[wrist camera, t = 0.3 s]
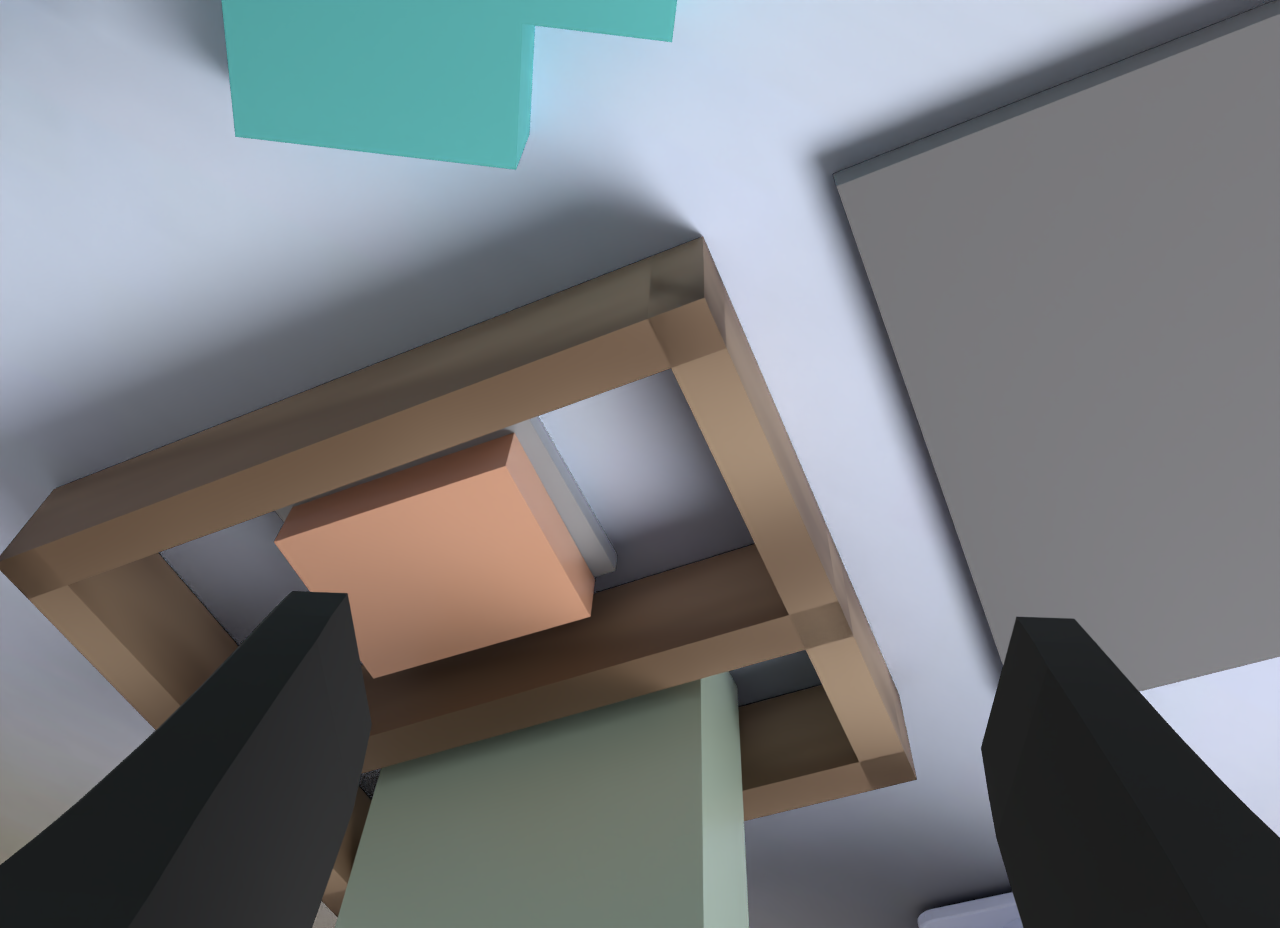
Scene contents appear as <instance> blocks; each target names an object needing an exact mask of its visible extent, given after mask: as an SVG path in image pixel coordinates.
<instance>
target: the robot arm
mask: <svg viewBox="0 0 1280 928" xmlns="http://www.w3.org/2000/svg"><path fill="white" fill-rule="evenodd" d="M371 726H372V723H371V717H370V712H369V706H368V701H367V695H366V690H365V685H364V679H363V674H362V668H361V663H360V657H359V652H358V646H357V641H356V636H355V630H354V625H353V619H352V614H351V608H350V603H349V597H348V593H329V592H301V591H292V592H291V593H290V594H289V595H288V596H287V597H286V598H284V599H283V600H282V601H281V602H280V604H279V605H278V606H277V607H276V608H275V609H274V610H273V611H272V612H271V613H270V614H269V615H268V616H267V617H266V618H265V619H264V620H263V621H262V622H261V623H260V624H259V625H258V626H257V628H256V629H255V630H254V631H253V632H252V633H251V634H250V635H249V636H248V637H247V638H246V639H245V640H244V641H243V642H242V643H241V644H240V645H239V647H238V648H237V649H236V650H235V651H234V652H233V653H232V654H231V655H230V656H229V657H228V658H227V659H226V660H225V661H224V662H223V663H222V664H221V665H220V666H219V667H218V668H217V669H216V670H215V672H214V673H213V674H212V675H211V676H210V677H209V678H208V679H207V680H206V681H205V682H204V683H203V684H202V685H201V686H200V687H199V688H198V689H197V690H196V691H195V692H194V693H193V694H192V695H191V696H190V697H189V698H188V699H187V700H186V701H185V702H184V703H183V704H182V705H181V706H180V707H179V708H178V709H177V710H176V711H175V712H174V713H173V714H172V715H171V716H170V717H169V718H168V719H167V720H166V721H165V722H164V723H163V724H162V725H161V726H160V727H159V728H158V729H157V730H156V731H155V732H153V733H152V734H151V735H150V736H149V737H148V738H147V739H146V740H145V741H144V742H143V743H142V744H141V745H140V746H139V747H138V748H137V749H135V750H134V751H133V752H132V753H131V754H130V755H129V756H128V757H127V758H126V759H124V760H123V761H122V762H121V763H120V764H119V765H118V766H117V767H116V768H115V769H113V770H112V771H111V772H110V773H109V774H108V775H107V776H106V777H105V778H104V779H102V780H101V781H100V782H99V783H98V784H97V785H96V786H95V787H94V788H93V789H91V790H90V791H89V792H88V793H87V794H86V795H85V796H84V797H83V798H81V799H80V800H79V801H78V802H77V803H76V804H75V805H73V806H72V807H71V808H70V809H69V810H67V811H66V812H65V813H64V814H63V815H62V816H60V817H59V818H58V819H57V820H56V821H54V822H53V823H52V824H51V825H50V826H49V827H47V828H46V829H45V830H44V831H42V832H41V833H40V834H39V835H38V836H36V837H35V838H34V839H33V840H31V841H30V842H29V843H28V844H26V845H25V846H24V847H23V848H21V849H20V850H19V851H18V852H16V853H15V854H14V855H12V856H11V857H10V858H9V859H7V860H6V861H5V862H4V863H2V864H1V865H0V928H312V926H313V923H314V920H315V917H316V915H317V912H318V909H319V906H320V903H321V901H322V898H323V895H324V892H325V889H326V887H327V884H328V881H329V878H330V875H331V872H332V870H333V867H334V864H335V861H336V858H337V855H338V852H339V850H340V847H341V844H342V841H343V838H344V835H345V832H346V829H347V826H348V824H349V821H350V818H351V815H352V812H353V808H354V804H355V799H356V795H357V791H358V786H359V782H360V778H361V773H362V769H363V764H364V759H365V755H366V750H367V745H368V740H369V736H370V731H371ZM981 751H982V757H983V763H984V769H985V776H986V782H987V788H988V794H989V800H990V806H991V811H992V816H993V822H994V827H995V833H996V838H997V841H998V845H999V848H1000V852H1001V855H1002V859H1003V862H1004V865H1005V869H1006V872H1007V875H1008V879H1009V882H1010V885H1011V889H1012V892H1010V893H1005V894H1001V895H996V896H991V897H986V898H982V899H977V900H972V901H967V902H963V903H958V904H953V905H948V906H943V907H939V908H934V909H930V910H927V911H925V912H923V913H922V914H921V915H920V916H919V917H918V919H917V920H918V926H919V928H1280V837H1279V836H1277V835H1276V834H1275V833H1274V832H1273V831H1272V830H1271V829H1270V828H1269V827H1268V826H1267V825H1266V824H1265V823H1264V822H1263V821H1262V820H1261V819H1260V818H1259V817H1258V816H1257V815H1255V814H1254V813H1253V812H1252V811H1251V810H1250V809H1249V808H1248V807H1247V806H1246V805H1245V804H1244V803H1243V802H1242V801H1241V800H1240V799H1239V798H1238V797H1237V796H1236V795H1235V794H1234V793H1233V792H1232V791H1231V790H1230V789H1229V788H1228V787H1227V786H1226V785H1225V784H1224V783H1223V782H1222V781H1221V780H1220V778H1219V777H1218V776H1217V775H1216V774H1215V773H1214V772H1213V771H1212V770H1211V769H1210V768H1209V767H1208V766H1207V765H1206V764H1205V763H1204V762H1203V761H1202V760H1201V758H1200V757H1199V756H1198V755H1197V754H1196V753H1195V752H1194V751H1193V750H1192V749H1191V748H1190V747H1189V746H1188V745H1187V744H1186V743H1185V742H1184V741H1183V739H1182V738H1181V737H1180V736H1179V735H1178V734H1177V733H1176V732H1175V731H1174V730H1173V729H1172V727H1171V726H1170V725H1169V724H1168V723H1167V722H1166V721H1165V720H1164V719H1163V718H1162V717H1161V715H1160V714H1159V713H1158V712H1157V711H1156V710H1155V709H1154V708H1153V706H1152V705H1151V704H1150V703H1149V702H1148V701H1147V700H1146V699H1145V698H1144V696H1143V695H1142V694H1141V693H1140V692H1139V691H1138V690H1137V689H1136V687H1135V686H1134V685H1133V684H1132V683H1131V682H1130V681H1129V680H1128V678H1127V677H1126V676H1125V675H1124V674H1123V673H1122V672H1121V671H1120V669H1119V668H1118V667H1117V666H1116V665H1115V664H1114V663H1113V661H1112V660H1111V659H1110V658H1109V657H1108V656H1107V655H1106V654H1105V652H1104V651H1103V650H1102V649H1101V648H1100V647H1099V646H1098V645H1097V643H1096V642H1095V641H1094V640H1093V639H1092V638H1091V637H1090V635H1089V634H1088V633H1087V632H1086V631H1085V630H1084V629H1083V628H1082V627H1081V625H1080V624H1079V623H1078V622H1077V621H1076V620H1075V619H1072V618H1043V617H1016V620H1015V624H1014V628H1013V631H1012V635H1011V639H1010V642H1009V646H1008V650H1007V653H1006V657H1005V661H1004V665H1003V668H1002V672H1001V676H1000V679H999V683H998V687H997V691H996V694H995V698H994V702H993V705H992V709H991V713H990V717H989V720H988V724H987V728H986V731H985V735H984V739H983V742H982V746H981Z"/></svg>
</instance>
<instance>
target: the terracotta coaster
mask: <svg viewBox="0 0 1280 928" xmlns="http://www.w3.org/2000/svg"><path fill="white" fill-rule="evenodd" d="M274 543H275V544H276V546H277V547H278V548H279V550H280V551H281V553H282V554H283V555H284V557H285V558H286V559H287V561H288V562H289V563H290V565H291V566H292V568H293V569H294V570H295V572H296V573H297V574H298V576H299V577H300V579H301V580H302V581H303V583H304V584H305V585H306V587H307V588H308V590H309V591H310V592H329V593H348V597H349V603H350V608H351V614H352V619H353V625H354V630H355V636H356V641H357V646H358V652H359V657H360V661H361V662H362V664H363V665H364V666H365V668H366V669H367V670H368V672H369V673H370V675H371V676H372V677H373V679H374V678H377V677H381V676H384V675H388V674H391V673H395V672H398V671H402V670H405V669H409V668H412V667H416V666H419V665H423V664H426V663H430V662H433V661H437V660H440V659H444V658H447V657H451V656H454V655H458V654H461V653H465V652H468V651H472V650H475V649H479V648H482V647H486V646H489V645H493V644H496V643H500V642H503V641H507V640H510V639H514V638H517V637H521V636H524V635H528V634H532V633H535V632H539V631H542V630H546V629H549V628H553V627H556V626H560V625H563V624H567V623H570V622H574V621H577V620H581V619H584V618H588V617H591V609H592V601H593V593H594V585H595V578H594V577H593V575H592V573H591V571H590V569H589V568H588V566H587V564H586V562H585V560H584V558H583V557H582V555H581V553H580V551H579V549H578V547H577V546H576V544H575V542H574V540H573V538H572V537H571V535H570V533H569V531H568V529H567V527H566V526H565V524H564V522H563V520H562V518H561V516H560V515H559V513H558V511H557V509H556V507H555V506H554V504H553V502H552V500H551V498H550V496H549V495H548V493H547V491H546V489H545V487H544V485H543V484H542V482H541V480H540V478H539V476H538V475H537V473H536V471H535V469H534V467H533V465H532V464H531V462H530V460H529V458H528V456H527V455H526V453H525V451H524V449H523V447H522V445H521V444H520V442H519V440H518V438H517V436H516V434H515V433H511V434H508V435H506V436H503V437H500V438H497V439H494V440H491V441H488V442H485V443H482V444H479V445H476V446H473V447H470V448H467V449H464V450H461V451H458V452H455V453H452V454H449V455H446V456H443V457H440V458H437V459H434V460H431V461H428V462H425V463H422V464H419V465H416V466H413V467H410V468H407V469H404V470H402V471H399V472H396V473H393V474H390V475H387V476H384V477H381V478H378V479H375V480H372V481H369V482H366V483H363V484H360V485H357V486H354V487H351V488H348V489H345V490H342V491H339V492H336V493H333V494H330V495H327V496H324V497H322V498H319V499H316V500H313V501H310V502H307V503H304V504H301V505H298V506H295V507H292V509H291V511H290V513H289V514H288V516H287V518H286V520H285V522H284V524H283V526H282V528H281V530H280V531H279V533H278V535H277V537H276V539H275V541H274Z"/></svg>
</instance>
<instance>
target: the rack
mask: <svg viewBox="0 0 1280 928" xmlns="http://www.w3.org/2000/svg"><path fill="white" fill-rule="evenodd" d="M670 368H671V369H672V371H673V373H674V375H675V377H676V380H677V382H678V384H679V386H680V388H681V390H682V392H683V394H684V396H685V398H686V400H687V403H688V405H689V407H690V409H691V411H692V413H693V415H694V417H695V419H696V421H697V423H698V426H699V428H700V430H701V432H702V434H703V436H704V438H705V440H706V442H707V444H708V447H709V449H710V451H711V453H712V455H713V457H714V459H715V461H716V463H717V465H718V467H719V470H720V472H721V474H722V476H723V478H724V480H725V482H726V484H727V486H728V488H729V490H730V493H731V495H732V497H733V499H734V501H735V503H736V505H737V507H738V509H739V511H740V513H741V516H742V518H743V520H744V522H745V524H746V526H747V528H748V530H749V532H750V534H751V537H752V539H753V541H754V543H755V544H753V545H750V546H747V547H743V548H740V549H737V550H734V551H730V552H727V553H724V554H721V555H717V556H714V557H711V558H708V559H704V560H701V561H698V562H695V563H691V564H688V565H685V566H682V567H679V568H675V569H672V570H669V571H666V572H662V573H659V574H656V575H653V576H649V577H646V578H643V579H640V580H636V581H633V582H630V583H627V584H623V585H620V586H617V587H614V588H611V589H607V590H604V591H601V592H598V593H594V594H593V601H592V609H591V617H588V618H584V619H581V620H577V621H574V622H570V623H567V624H563V625H560V626H556V627H553V628H549V629H546V630H542V631H539V632H535V633H532V634H528V635H524V636H521V637H517V638H514V639H510V640H507V641H503V642H500V643H496V644H493V645H489V646H486V647H482V648H479V649H475V650H472V651H468V652H465V653H461V654H458V655H454V656H451V657H447V658H444V659H440V660H437V661H433V662H430V663H426V664H423V665H419V666H416V667H412V668H409V669H405V670H402V671H398V672H395V673H391V674H388V675H384V676H381V677H377V678H374V679H373V677H372V676H371V675H370V673H369V672H368V670H367V669H366V668H365V666H364V665H361V668H362V674H363V679H364V685H365V690H366V695H367V701H368V706H369V712H370V717H371V723H372V726H371V731H370V736H369V740H368V745H367V750H366V755H365V759H364V764H363V769H362V773H366V772H369V771H373V770H376V769H380V768H384V767H387V766H391V765H394V764H398V763H401V762H405V761H409V760H412V759H416V758H419V757H423V756H427V755H430V754H434V753H437V752H441V751H444V750H448V749H452V748H455V747H459V746H462V745H466V744H469V743H473V742H477V741H480V740H484V739H487V738H491V737H495V736H498V735H502V734H505V733H509V732H512V731H516V730H520V729H523V728H527V727H530V726H534V725H538V724H541V723H545V722H548V721H552V720H555V719H559V718H563V717H566V716H570V715H573V714H577V713H581V712H584V711H588V710H591V709H595V708H598V707H602V706H606V705H609V704H613V703H616V702H620V701H623V700H627V699H631V698H634V697H638V696H641V695H645V694H649V693H652V692H656V691H659V690H663V689H666V688H670V687H674V686H677V685H681V684H684V683H688V682H692V681H695V680H699V679H702V678H706V677H709V676H713V675H717V674H720V673H724V672H727V671H731V670H735V669H738V668H742V667H745V666H749V665H752V664H756V663H760V662H763V661H767V660H770V659H774V658H778V657H781V656H785V655H788V654H792V653H795V652H799V651H803V650H806V652H807V654H808V656H809V658H810V660H811V662H812V664H813V666H814V668H815V671H816V673H817V675H818V677H819V679H820V681H821V683H822V685H819V686H816V687H812V688H808V689H804V690H801V691H797V692H793V693H790V694H786V695H782V696H778V697H775V698H771V699H767V700H764V701H760V702H756V703H752V704H749V705H745V706H741V707H738V710H739V730H740V751H741V771H742V792H743V812H744V821H747V820H751V819H755V818H759V817H763V816H767V815H772V814H776V813H780V812H784V811H788V810H792V809H797V808H801V807H805V806H809V805H813V804H817V803H821V802H826V801H830V800H834V799H838V798H842V797H846V796H850V795H855V794H859V793H863V792H867V791H871V790H875V789H880V788H884V787H888V786H892V785H896V784H900V783H904V782H909V781H913V780H917V778H916V773H915V768H914V764H913V759H912V754H911V749H910V745H909V740H908V735H907V730H906V726H905V721H904V716H903V711H902V706H901V702H900V697H899V694H898V691H897V689H896V687H895V684H894V682H893V680H892V677H891V675H890V673H889V670H888V668H887V666H886V663H885V661H884V659H883V656H882V654H881V652H880V649H879V647H878V645H877V642H876V640H875V638H874V635H873V633H872V631H871V628H870V626H869V624H868V621H867V619H866V617H865V614H864V612H863V609H862V607H861V605H860V602H859V600H858V598H857V595H856V593H855V591H854V588H853V586H852V584H851V581H850V579H849V577H848V574H847V572H846V570H845V567H844V565H843V563H842V560H841V558H840V556H839V553H838V551H837V549H836V546H835V544H834V542H833V539H832V537H831V535H830V532H829V530H828V528H827V525H826V523H825V521H824V518H823V516H822V514H821V511H820V509H819V507H818V504H817V502H816V500H815V497H814V495H813V492H812V490H811V488H810V485H809V483H808V481H807V478H806V476H805V474H804V471H803V469H802V467H801V464H800V462H799V460H798V457H797V455H796V453H795V450H794V448H793V446H792V443H791V441H790V439H789V436H788V434H787V432H786V429H785V427H784V425H783V422H782V420H781V418H780V415H779V413H778V411H777V408H776V406H775V404H774V401H773V399H772V397H771V394H770V392H769V390H768V387H767V385H766V383H765V380H764V378H763V375H762V373H761V371H760V368H759V366H758V364H757V361H756V359H755V357H754V354H753V352H752V350H751V347H750V345H749V343H748V340H747V338H746V336H745V333H744V331H743V329H742V326H741V324H740V322H739V319H738V317H737V315H736V312H735V310H734V308H733V305H732V303H731V301H730V298H729V296H728V294H727V291H726V289H725V287H724V284H723V282H722V280H721V277H720V275H719V273H718V270H717V268H716V265H715V263H714V261H713V258H712V256H711V254H710V251H709V249H708V247H707V244H706V242H705V240H704V237H703V236H702V237H700V238H697V239H695V240H692V241H689V242H687V243H684V244H682V245H679V246H677V247H674V248H671V249H669V250H666V251H664V252H661V253H659V254H656V255H654V256H651V257H648V258H646V259H643V260H641V261H638V262H636V263H633V264H630V265H628V266H625V267H623V268H620V269H618V270H615V271H612V272H610V273H607V274H605V275H602V276H600V277H597V278H594V279H592V280H589V281H587V282H584V283H582V284H579V285H577V286H574V287H571V288H569V289H566V290H564V291H561V292H559V293H556V294H553V295H551V296H548V297H546V298H543V299H541V300H538V301H535V302H533V303H530V304H528V305H525V306H523V307H520V308H517V309H515V310H512V311H510V312H507V313H505V314H502V315H500V316H497V317H494V318H492V319H489V320H487V321H484V322H482V323H479V324H476V325H474V326H471V327H469V328H466V329H464V330H461V331H458V332H456V333H453V334H451V335H448V336H446V337H443V338H440V339H438V340H435V341H433V342H430V343H428V344H425V345H423V346H420V347H417V348H415V349H412V350H410V351H407V352H405V353H402V354H399V355H397V356H394V357H392V358H389V359H387V360H384V361H381V362H379V363H376V364H374V365H371V366H369V367H366V368H364V369H361V370H358V371H356V372H353V373H351V374H348V375H346V376H343V377H340V378H338V379H335V380H333V381H330V382H328V383H325V384H322V385H320V386H317V387H315V388H312V389H310V390H307V391H304V392H302V393H299V394H297V395H294V396H292V397H289V398H287V399H284V400H281V401H279V402H276V403H274V404H271V405H269V406H266V407H263V408H261V409H258V410H256V411H253V412H251V413H248V414H245V415H243V416H240V417H238V418H235V419H233V420H230V421H227V422H225V423H222V424H220V425H217V426H215V427H212V428H210V429H207V430H204V431H202V432H199V433H197V434H194V435H192V436H189V437H186V438H184V439H181V440H179V441H176V442H174V443H171V444H168V445H166V446H163V447H161V448H158V449H156V450H153V451H151V452H148V453H145V454H143V455H140V456H138V457H135V458H133V459H130V460H127V461H125V462H122V463H120V464H117V465H115V466H112V467H109V468H107V469H104V470H102V471H99V472H97V473H94V474H91V475H89V476H86V477H84V478H81V479H79V480H76V481H74V482H71V483H68V484H66V485H63V486H61V487H58V488H56V489H54V490H53V491H52V492H51V494H50V495H49V496H48V497H47V499H46V500H45V501H44V502H43V504H42V505H41V506H40V507H39V508H38V510H37V511H36V512H35V513H34V515H33V516H32V517H31V518H30V520H29V521H28V522H27V523H26V524H25V526H24V527H23V528H22V529H21V531H20V532H19V533H18V534H17V536H16V537H15V538H14V539H13V540H12V542H11V543H10V544H9V545H8V547H7V548H6V549H5V550H4V552H3V553H2V554H1V555H0V570H1V572H2V573H3V574H4V575H5V576H6V577H7V578H8V579H9V580H10V581H11V582H12V583H13V584H14V585H15V586H16V587H17V588H18V589H19V590H20V591H21V592H22V593H23V594H24V595H25V596H26V597H27V598H28V599H29V600H30V601H31V602H32V603H33V604H34V605H35V606H36V608H37V609H38V610H39V611H40V612H41V613H42V614H43V615H44V616H45V617H46V618H47V619H48V620H49V621H50V622H51V623H52V624H53V625H54V626H55V627H56V628H57V629H58V630H59V631H60V632H61V633H62V634H63V635H64V636H65V637H66V638H67V639H68V640H69V641H70V642H71V644H72V645H73V646H74V647H75V648H76V649H77V650H78V651H79V652H80V653H81V654H82V655H83V656H84V657H85V658H86V659H87V660H88V661H89V662H90V663H91V664H92V665H93V666H94V667H95V668H96V669H97V670H98V671H99V672H100V673H101V674H102V675H103V676H104V677H105V678H106V680H107V681H108V682H109V683H110V684H111V685H112V686H113V687H114V688H115V689H116V690H117V691H118V692H119V693H120V694H121V695H122V696H123V697H124V698H125V699H126V700H127V701H128V702H129V703H130V704H131V705H132V706H133V707H134V708H135V709H136V710H137V711H138V712H139V713H140V714H141V716H142V717H143V718H144V719H145V720H146V721H147V722H148V723H149V724H150V725H151V726H152V727H153V728H154V729H155V730H157V729H158V728H159V727H160V726H161V725H162V724H163V723H164V722H165V721H166V720H167V719H168V718H169V717H170V716H171V715H172V714H173V713H174V712H175V711H176V710H177V709H178V708H179V707H180V706H181V705H182V704H183V703H184V702H185V701H186V700H187V699H188V698H189V697H190V696H191V695H192V694H193V693H194V692H195V691H196V690H197V689H198V688H199V687H200V686H201V685H202V684H203V683H204V682H205V681H206V680H207V679H208V678H209V677H210V676H211V675H212V674H213V673H214V672H215V670H216V669H217V668H218V667H219V666H220V665H221V664H222V663H223V662H224V661H225V660H226V659H227V658H228V657H229V656H230V655H231V654H232V653H233V652H234V651H235V650H236V649H237V648H238V647H239V646H238V645H237V644H236V643H235V642H234V640H233V639H232V638H231V637H230V636H229V635H228V633H227V632H226V631H225V630H224V629H223V628H222V626H221V625H220V624H219V623H218V622H217V621H216V619H215V618H214V617H213V616H212V615H211V614H210V612H209V611H208V610H207V609H206V608H205V607H204V606H203V604H202V603H201V602H200V601H199V600H198V599H197V597H196V596H195V595H194V594H193V593H192V592H191V590H190V589H189V588H188V587H187V586H186V585H185V583H184V582H183V581H182V580H181V579H180V578H179V576H178V575H177V574H176V573H175V572H174V571H173V569H172V568H171V567H170V566H169V565H168V564H167V563H166V561H165V560H164V559H163V558H162V557H161V556H160V554H159V553H158V552H161V551H164V550H167V549H169V548H172V547H175V546H178V545H181V544H183V543H186V542H189V541H192V540H195V539H197V538H200V537H203V536H206V535H208V534H211V533H214V532H217V531H220V530H222V529H225V528H228V527H231V526H233V525H236V524H239V523H242V522H245V521H247V520H250V519H253V518H256V517H258V516H261V515H264V514H267V513H270V512H272V511H275V510H278V509H281V508H284V507H286V506H289V505H292V504H295V503H297V502H300V501H303V500H306V499H309V498H311V497H314V496H317V495H320V494H322V493H325V492H328V491H331V490H334V489H336V488H339V487H342V486H345V485H347V484H350V483H353V482H356V481H359V480H361V479H364V478H367V477H370V476H373V475H375V474H378V473H381V472H384V471H386V470H389V469H392V468H395V467H398V466H400V465H403V464H406V463H409V462H411V461H414V460H417V459H420V458H423V457H425V456H428V455H431V454H434V453H436V452H439V451H442V450H445V449H448V448H450V447H453V446H456V445H459V444H461V443H464V442H467V441H470V440H473V439H475V438H478V437H481V436H484V435H487V434H489V433H492V432H495V431H498V430H500V429H503V428H506V427H509V426H512V425H514V424H517V423H520V422H523V421H525V420H528V419H531V418H534V417H537V416H539V415H542V414H545V413H548V412H550V411H553V410H556V409H559V408H562V407H564V406H567V405H570V404H573V403H576V402H578V401H581V400H584V399H587V398H589V397H592V396H595V395H598V394H601V393H603V392H606V391H609V390H612V389H614V388H617V387H620V386H623V385H626V384H628V383H631V382H634V381H637V380H639V379H642V378H645V377H648V376H651V375H653V374H656V373H659V372H662V371H665V370H667V369H670ZM362 773H361V774H362ZM370 805H371V800H370V798H369V797H368V796H367V795H366V794H365V793H364V791H363V790H362V789H361V788H360V787H359V786H358V791H357V795H356V799H355V804H354V808H353V812H352V815H351V818H350V821H349V824H348V826H347V829H346V832H345V835H344V838H343V841H342V844H341V847H340V850H339V852H338V855H337V858H336V861H335V864H334V867H333V870H332V872H331V875H330V878H329V881H328V884H327V887H326V889H325V892H324V895H323V898H322V902H323V903H324V904H325V905H326V906H327V907H328V908H329V909H330V910H331V911H332V912H333V913H334V914H335V915H336V916H337V917H338V915H339V912H340V909H341V905H342V902H343V898H344V895H345V891H346V888H347V884H348V881H349V877H350V874H351V870H352V867H353V864H354V860H355V857H356V853H357V850H358V846H359V843H360V839H361V836H362V832H363V829H364V826H365V822H366V819H367V815H368V812H369V808H370Z"/></svg>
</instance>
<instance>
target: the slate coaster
mask: <svg viewBox="0 0 1280 928" xmlns="http://www.w3.org/2000/svg"><path fill="white" fill-rule="evenodd" d="M511 433H515V434H516V436H517V438H518V440H519V442H520V444H521V445H522V447H523V449H524V451H525V453H526V455H527V456H528V458H529V460H530V462H531V464H532V465H533V467H534V469H535V471H536V473H537V475H538V476H539V478H540V480H541V482H542V484H543V485H544V487H545V489H546V491H547V493H548V495H549V496H550V498H551V500H552V502H553V504H554V506H555V507H556V509H557V511H558V513H559V515H560V516H561V518H562V520H563V522H564V524H565V526H566V527H567V529H568V531H569V533H570V535H571V537H572V538H573V540H574V542H575V544H576V546H577V547H578V549H579V551H580V553H581V555H582V557H583V558H584V560H585V562H586V564H587V566H588V568H589V569H590V571H591V573H592V575H593V577H598V576H601V575H604V574H607V573H610V572H613V571H616V563H617V553H616V551H615V550H614V548H613V546H612V544H611V543H610V541H609V539H608V537H607V536H606V534H605V532H604V530H603V529H602V527H601V525H600V523H599V522H598V520H597V518H596V516H595V515H594V513H593V511H592V509H591V508H590V506H589V504H588V502H587V501H586V499H585V497H584V495H583V494H582V492H581V490H580V488H579V486H578V485H577V483H576V481H575V479H574V478H573V476H572V474H571V472H570V471H569V469H568V467H567V465H566V464H565V462H564V460H563V458H562V457H561V455H560V453H559V451H558V450H557V448H556V446H555V444H554V443H553V441H552V439H551V437H550V436H549V434H548V432H547V430H546V429H545V427H544V425H543V423H542V422H541V420H540V418H539V416H537V417H534V418H531V419H528V420H525V421H523V422H520V423H517V424H514V425H512V426H509V427H506V428H503V429H500V430H498V431H495V432H492V433H489V434H487V435H484V436H481V437H478V438H475V439H473V440H470V441H467V442H464V443H461V444H459V445H456V446H453V447H450V448H448V449H445V450H442V451H439V452H436V453H434V454H431V455H428V456H425V457H423V458H420V459H417V460H414V461H411V462H409V463H406V464H403V465H400V466H398V467H395V468H392V469H389V470H386V471H384V472H381V473H378V474H375V475H373V476H370V477H367V478H364V479H361V480H359V481H356V482H353V483H350V484H347V485H345V486H342V487H339V488H336V489H334V490H331V491H328V492H325V493H322V494H320V495H317V496H314V497H311V498H309V499H306V500H303V501H300V502H297V503H295V504H292V505H289V506H286V507H284V508H281V509H278V510H275V512H276V513H277V514H278V516H279V517H280V518H281V520H282V521H283V522H285V520H286V518H287V516H288V514H289V513H290V511H291V509H292V507H295V506H298V505H301V504H304V503H307V502H310V501H313V500H316V499H319V498H322V497H324V496H327V495H330V494H333V493H336V492H339V491H342V490H345V489H348V488H351V487H354V486H357V485H360V484H363V483H366V482H369V481H372V480H375V479H378V478H381V477H384V476H387V475H390V474H393V473H396V472H399V471H402V470H404V469H407V468H410V467H413V466H416V465H419V464H422V463H425V462H428V461H431V460H434V459H437V458H440V457H443V456H446V455H449V454H452V453H455V452H458V451H461V450H464V449H467V448H470V447H473V446H476V445H479V444H482V443H485V442H488V441H491V440H494V439H497V438H500V437H503V436H506V435H508V434H511Z"/></svg>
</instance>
